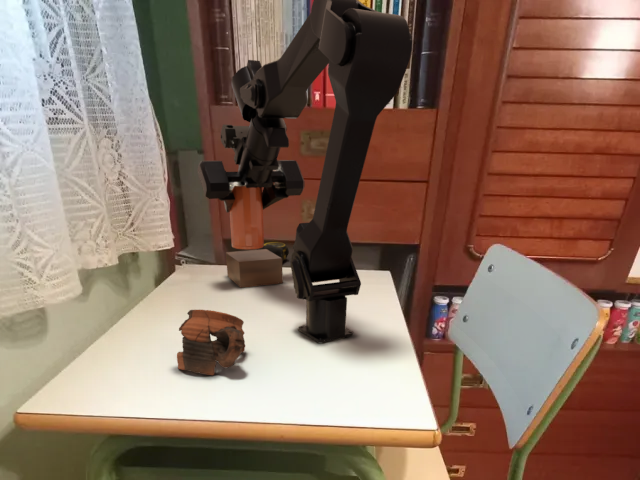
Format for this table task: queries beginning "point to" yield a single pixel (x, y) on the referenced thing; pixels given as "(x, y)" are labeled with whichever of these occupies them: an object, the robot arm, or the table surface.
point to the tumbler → (247, 218)
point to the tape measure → (277, 249)
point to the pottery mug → (198, 342)
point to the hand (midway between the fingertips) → (243, 209)
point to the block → (254, 268)
